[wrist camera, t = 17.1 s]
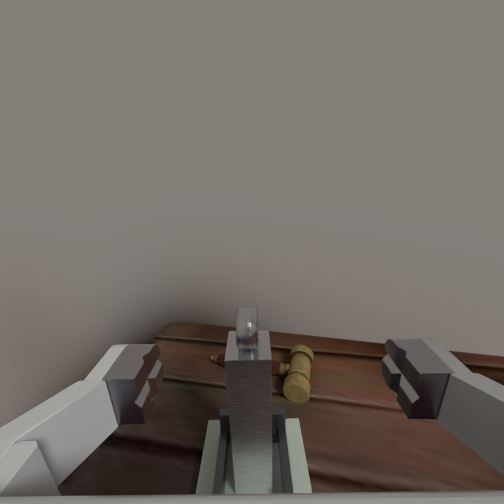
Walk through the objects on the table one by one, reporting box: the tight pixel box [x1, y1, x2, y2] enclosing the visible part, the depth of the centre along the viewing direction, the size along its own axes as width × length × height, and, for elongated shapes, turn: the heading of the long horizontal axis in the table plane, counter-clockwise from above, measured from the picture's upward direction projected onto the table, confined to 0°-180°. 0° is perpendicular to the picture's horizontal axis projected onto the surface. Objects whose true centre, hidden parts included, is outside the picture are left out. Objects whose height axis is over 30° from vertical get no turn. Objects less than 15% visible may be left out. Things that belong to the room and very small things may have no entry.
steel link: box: [224, 307, 272, 494], centre depth 27 cm, size 4×4×24 cm
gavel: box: [211, 345, 314, 403], centre depth 49 cm, size 21×5×10 cm
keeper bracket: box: [196, 407, 312, 494], centre depth 31 cm, size 14×14×7 cm
